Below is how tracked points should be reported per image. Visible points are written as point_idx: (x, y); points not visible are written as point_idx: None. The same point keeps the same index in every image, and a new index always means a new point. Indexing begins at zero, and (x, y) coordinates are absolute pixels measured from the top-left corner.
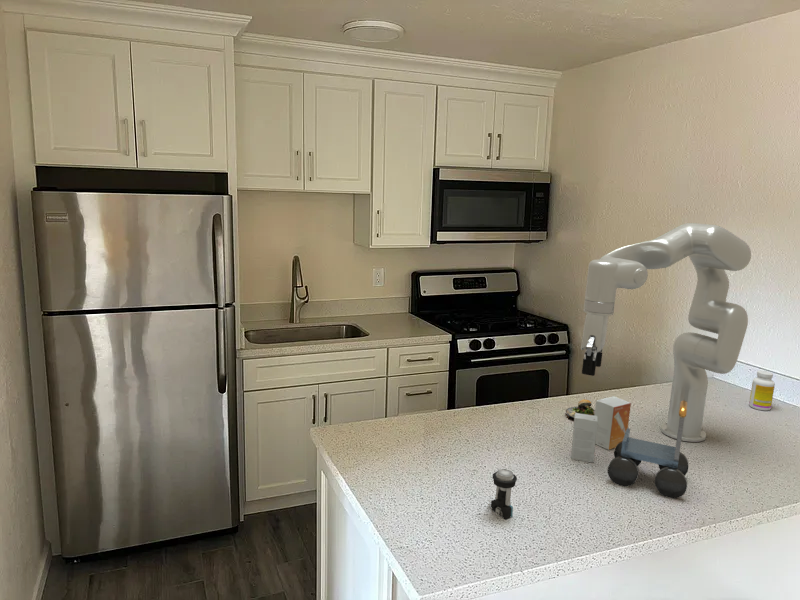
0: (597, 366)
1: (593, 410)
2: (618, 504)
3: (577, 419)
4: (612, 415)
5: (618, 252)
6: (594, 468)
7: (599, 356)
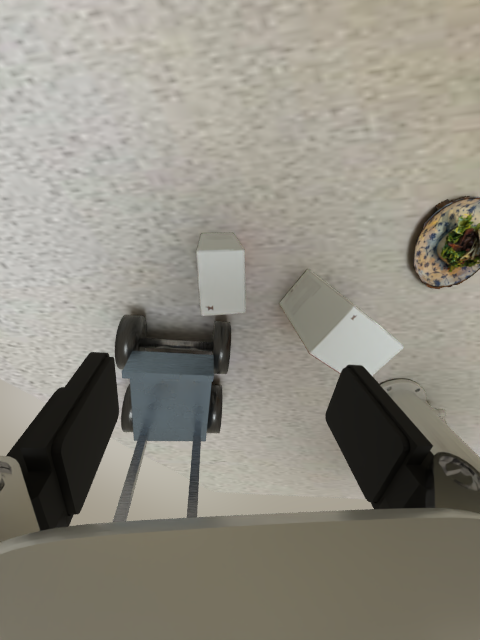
0: (332, 404)
1: (468, 266)
2: (58, 328)
3: (197, 259)
4: (302, 339)
5: None
6: (180, 282)
7: (360, 470)
